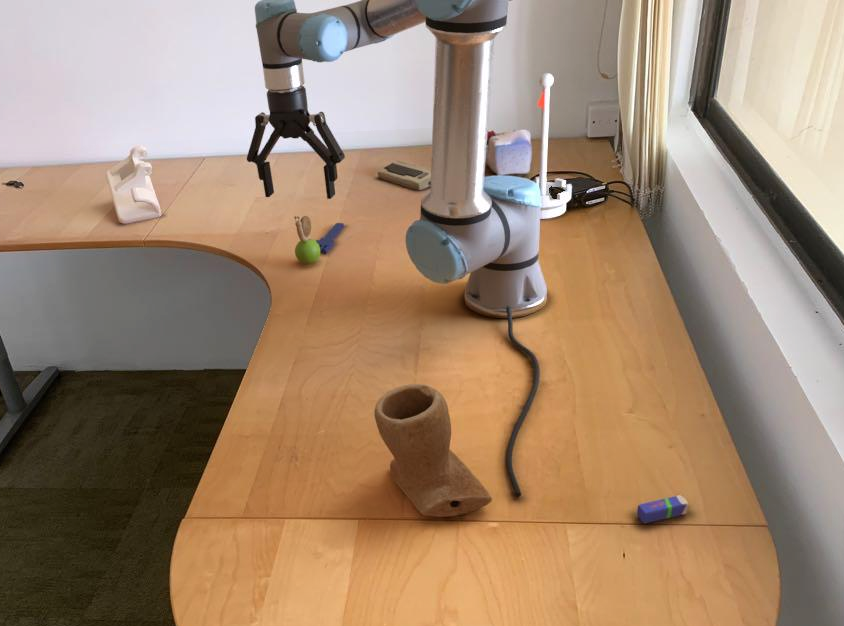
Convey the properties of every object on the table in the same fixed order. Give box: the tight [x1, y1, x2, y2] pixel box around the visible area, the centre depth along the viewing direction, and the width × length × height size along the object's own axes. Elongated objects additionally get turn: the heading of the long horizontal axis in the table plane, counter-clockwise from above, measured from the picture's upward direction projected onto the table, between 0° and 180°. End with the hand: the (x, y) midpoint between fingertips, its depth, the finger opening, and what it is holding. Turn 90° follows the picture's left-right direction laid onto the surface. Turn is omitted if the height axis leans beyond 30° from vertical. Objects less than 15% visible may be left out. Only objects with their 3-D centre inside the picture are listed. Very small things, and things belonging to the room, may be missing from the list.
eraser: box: [637, 494, 690, 525], centre depth 107 cm, size 2×6×2 cm, turn 103°
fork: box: [315, 222, 345, 255], centre depth 190 cm, size 15×4×1 cm, turn 161°
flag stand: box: [534, 72, 573, 220], centre depth 185 cm, size 13×13×30 cm
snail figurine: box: [293, 215, 321, 265], centre depth 177 cm, size 5×6×12 cm
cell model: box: [485, 129, 533, 176], centre depth 216 cm, size 13×11×20 cm
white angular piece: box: [105, 145, 163, 225], centre depth 215 cm, size 20×11×13 cm, turn 19°
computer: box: [377, 160, 431, 191], centre depth 216 cm, size 16×8×3 cm, turn 40°
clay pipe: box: [373, 383, 493, 518], centre depth 111 cm, size 15×12×15 cm
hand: (300, 195), depth 172 cm, fingers open, 13 cm apart
